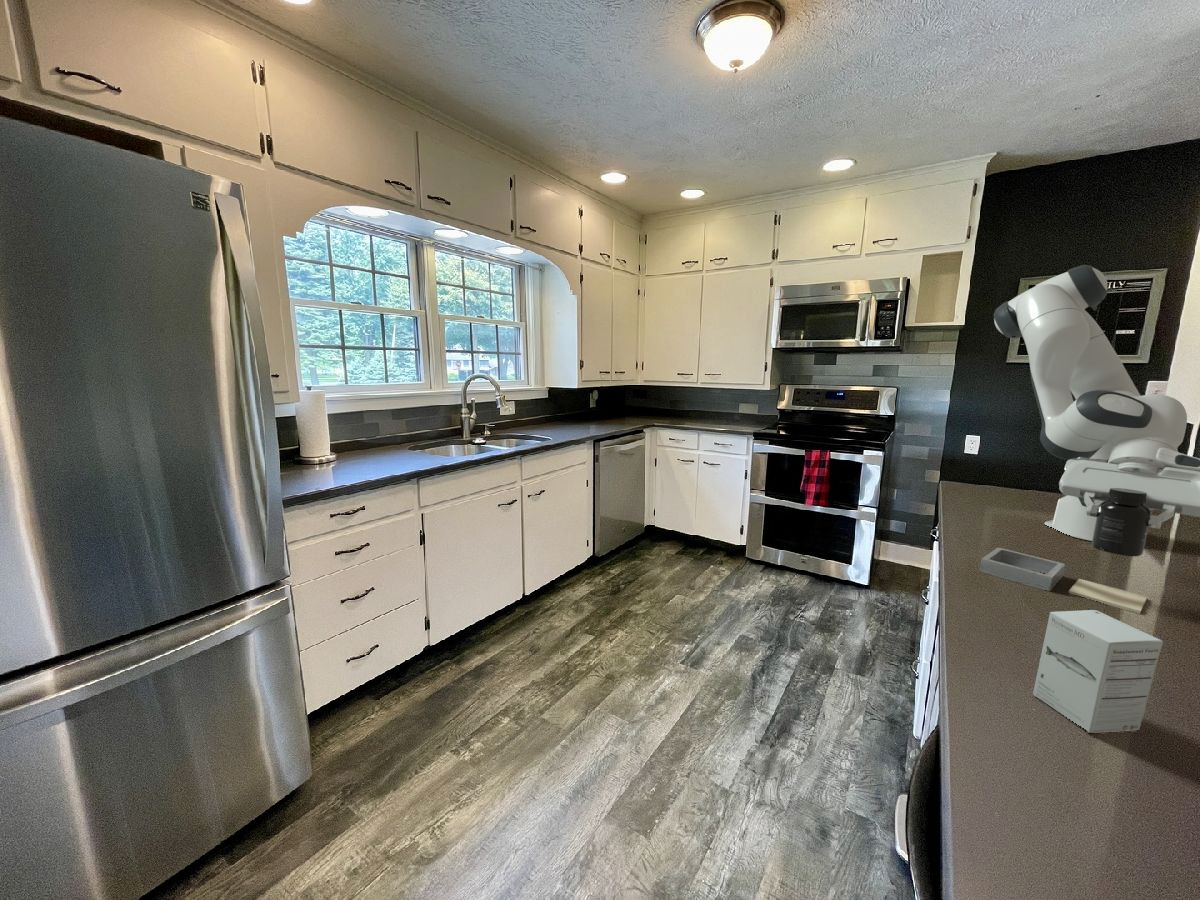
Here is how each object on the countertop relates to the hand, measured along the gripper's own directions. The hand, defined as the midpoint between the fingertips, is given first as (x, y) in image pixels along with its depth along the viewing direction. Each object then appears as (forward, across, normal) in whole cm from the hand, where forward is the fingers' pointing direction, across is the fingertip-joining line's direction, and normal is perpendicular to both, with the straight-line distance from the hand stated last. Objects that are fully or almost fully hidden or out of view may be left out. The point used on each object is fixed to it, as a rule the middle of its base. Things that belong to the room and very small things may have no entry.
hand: (1121, 520), depth 91 cm
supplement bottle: (+4, 0, +5) cm, 6 cm away
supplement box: (+46, +4, -23) cm, 51 cm away
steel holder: (+12, -13, +11) cm, 20 cm away
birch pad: (+11, 0, +12) cm, 16 cm away
